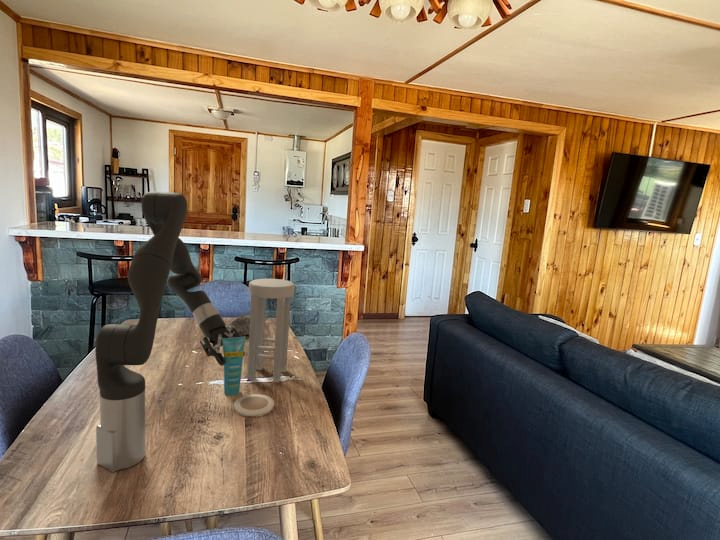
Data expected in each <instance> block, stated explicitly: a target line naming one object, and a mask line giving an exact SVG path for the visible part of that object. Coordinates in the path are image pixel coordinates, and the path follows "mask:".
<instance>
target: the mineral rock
mask: <svg viewBox="0 0 720 540" xmlns="http://www.w3.org/2000/svg"><path fill="white" fill-rule="evenodd" d="M233 328H235V329H236V330H237V332H238V333H239V335H240V336H241V337H242V336H246V335H249V332H250V314H249V315H248V314H247V315H246V314H245V313H241V315H239V316H238V317H237V318H236V319H234V320H232V321H231V322H230V323H229V324H228V325H226V329H227V330H228V331H229V330H231V329H233Z"/></svg>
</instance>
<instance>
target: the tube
mask: <svg viewBox="0 0 720 540" xmlns="http://www.w3.org/2000/svg"><path fill="white" fill-rule="evenodd" d="M246 338H247V337H246V335H243V336H241V337H237V338H222V343H223V346H222V349H223V350H222V351H223V354H222V355H223V357H224V359H225V361H226V363H225V364H224V365H223V393H224V394H225V396H233V397H234V396H237V395H239V394H240V390H241V379H242V370H243V369H242V368H243V359H244V356H243V353H244V352H245V346H246V340H247V339H246Z"/></svg>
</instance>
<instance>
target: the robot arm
mask: <svg viewBox="0 0 720 540" xmlns="http://www.w3.org/2000/svg"><path fill="white" fill-rule="evenodd" d="M141 210H142V211H141V212H142V214H143V216H144V219H145V222H146V223H147V225H148V228H150V230H151V232H152V234H153V236H152V237H150V238H149V239H148V240H146V242H145V243H142V245H141V246H140V247H138V248H137V250H136V251H135V253H134V254H133V256H132V259H131V262H130V265H129V268H128V272H127V277H126V278H127V282H128V285H129V288H130V289H131V291H132V294H133V296H134V297H135V300H136V302H137V305H138V309H139V320H138V322H137V324H119V323H118V324H117V323H116V324H115V323H113V324H112V323H110V324H106V325H103V326H102V327H101V328H100V329H99V330H98V333H97V336H96V339H95V350H94V352H95V364H96V373H97V374H96V375H97V376H96V377H97V385H98V389H99V415H100V417H99V419H100V421H99V422H100V423H99V424H98V425H96V429H95V431H96V464H97V465H99V466H101V467H102V468H105V469H106V470H108V471H110V472H111V473H115V472H116V471H119V470H124V469H128V468H131V467H133V466H136V465H137V464H139V463H140V462H142V461H143V459H144V457H146V379H145V377H144V376H143V375H142V374H141V373H139V372H137V371H133V370H131V369H129V368H127V367H126V366H143V365H145V363H147V362H148V361H149V358H150V357H151V354H152V350H153V345H154V340H155V335H156V330H157V326H158V325H157V324H158V319H159V314H160V308H161V304H162V300H163V298H164V297H163V296H164V293H165V289H166V287H167V284H168V287H169V288H170V290H172V292H173V293H175V294H176V295H177V296H178V297H179V298H180V299H181V300H183V302H184V303H185V304H186V306H187V307H188V309H189V311H190V312H191V314H192V316H193V318H194V320H195V322H196V324H197V326H198V327H199V330H201V332H202V334H203V336H204V337H203V338H202V339H201V340H200V341H199V343H200V345H201V347H202V349H203V351H204V352H205V354H206V356H207V357H214V358H215V360H216V362H217V364H218V365H219V366H220V367H222V366H224V364H225V363H226V361H225V359H224V355H223V354H222V352H221V351H220V350H221V347H223V343H222V338H237V337H242V335H241V336H240V335H239V333H238V332H237V330H236V329H235V328H233V329H231V330H229V331H228V330H227V329H226V326H227V324H226V323H225V321H224V319H223V318H222V316H221V314H220V312H219V311H218V309H217V308H216V306H215V305H214V304H213V303H212V302H211V300H210V298H209V296H208V295H207V293H206V292H205V291H204V290H195V291H189V290H192V289H194V288H196V287H198V286H200V285H201V283H202V279H203V278H202V277H203V276H202V275H201V273H200V272H199V270H198V269H197V268H196V267H195V266H194V263H193V261H192V258H191V255H190V251H189V249H188V246H187V245H186V243H185V242H184V241H183V240H182V239H181V238H180V235H181V231H182V229H183V227H184V225H185V221H186V218H187V215H188V201H187V198H186V197H185V195H184V194H182V193H177V192H171V191H170V192H167V191H148V192H146V193H145V194H144V196H143V198H142V201H141ZM171 272H172V273H173V274H171V275H170V273H171ZM244 356H246V352H245V351H244V353H243V357H244Z"/></svg>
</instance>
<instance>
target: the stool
mask: <svg viewBox="0 0 720 540" xmlns="http://www.w3.org/2000/svg"><path fill="white" fill-rule="evenodd" d="M295 287H296V285H295V283H293V282H292V281H291V280H286V279H281V278H279V279H278V278H257V279H253V280H251V281H249V283H248V293H249V295H250V308H249V309H250V311H249V315H250V332H249V334H248V338H249V339H248V359H247V360H248V362H247V380H249V381H254V380H255V379H256V377H257V375H256V374H257V371H262V370H263V369H264V360H273V367H272V368H273V369H272V370H273V371H272V372H273V373H272V383H275V382H278V384H280V382H281V374H282V372H284V373H283V374H285V373H286V372H287V368H288V367H287V366H288V351H289V350H288V347H289V346H288V345H289V331H290V330H289V329H290V314H291V313H290V312H291V297H292V296H294V295H295ZM267 299H276V309H275V310H276V312H275V330H274V331H275V332H274V338H269V337H265V334H266V333H265V331H266V313H267V312H266V311H267V310H266V309H267ZM265 343H274V346H271V345H265ZM264 351H265V352H273V355H270V354H269V355H268V354H265V353H264ZM279 381H280V382H279Z"/></svg>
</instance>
